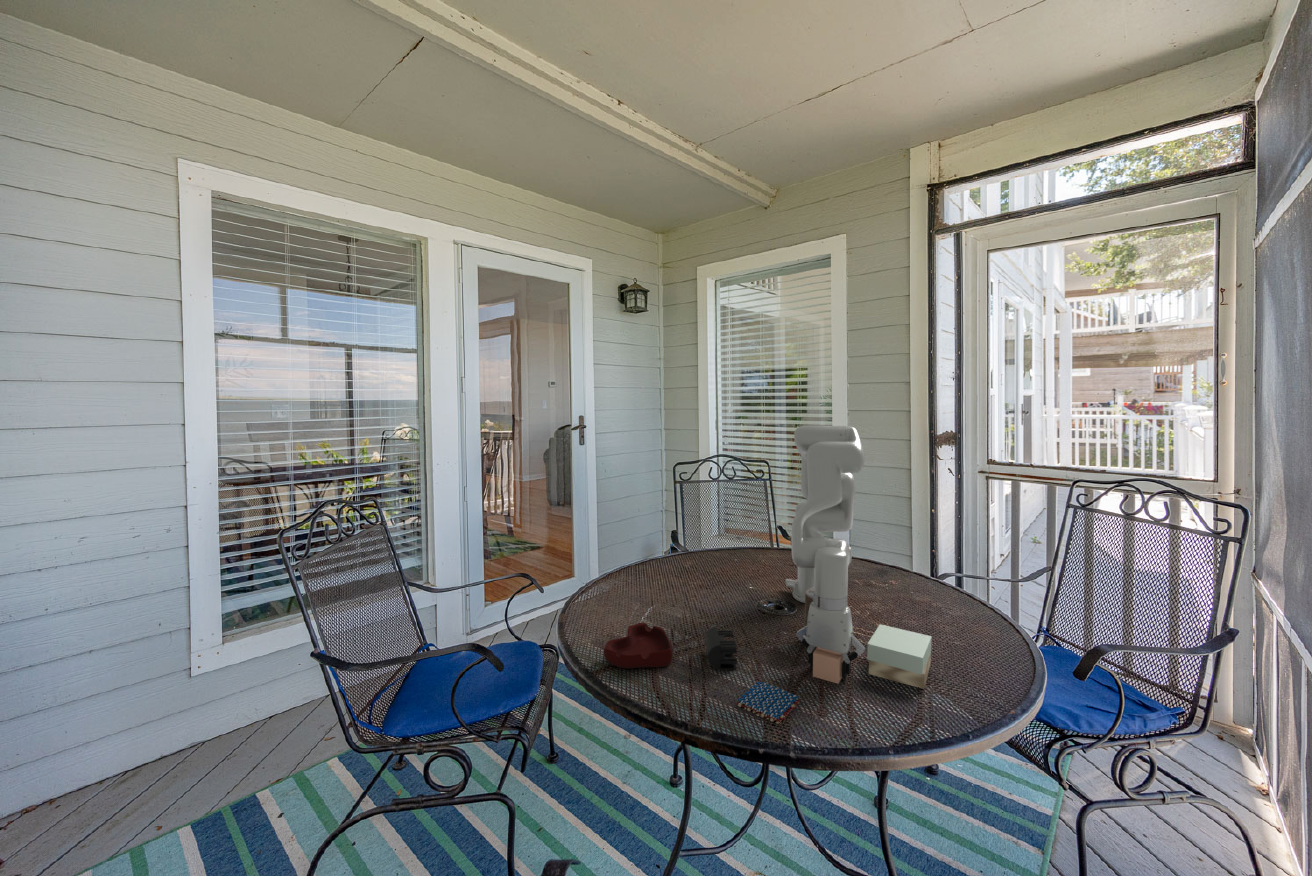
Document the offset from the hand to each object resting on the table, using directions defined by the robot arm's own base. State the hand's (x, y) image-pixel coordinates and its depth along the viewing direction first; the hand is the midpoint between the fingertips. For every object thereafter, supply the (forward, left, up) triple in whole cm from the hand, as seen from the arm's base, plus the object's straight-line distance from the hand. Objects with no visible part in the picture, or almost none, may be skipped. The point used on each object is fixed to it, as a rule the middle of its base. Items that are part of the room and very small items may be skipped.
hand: (829, 670), depth 129 cm
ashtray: (-42, -17, -1) cm, 46 cm away
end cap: (-25, -8, -1) cm, 26 cm away
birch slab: (+14, +11, -1) cm, 18 cm away
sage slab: (+14, +11, +3) cm, 18 cm away
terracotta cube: (0, 0, -1) cm, 1 cm away
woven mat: (-8, -19, -2) cm, 20 cm away
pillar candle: (-6, +14, -1) cm, 15 cm away
